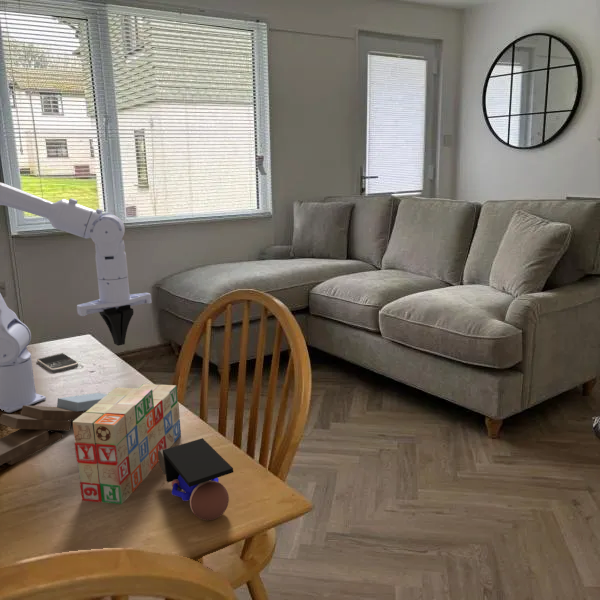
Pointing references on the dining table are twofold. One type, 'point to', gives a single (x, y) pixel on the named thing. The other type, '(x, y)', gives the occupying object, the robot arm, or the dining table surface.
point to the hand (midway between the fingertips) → (119, 343)
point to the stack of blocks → (124, 439)
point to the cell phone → (57, 362)
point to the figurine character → (197, 477)
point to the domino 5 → (80, 401)
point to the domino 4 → (50, 413)
